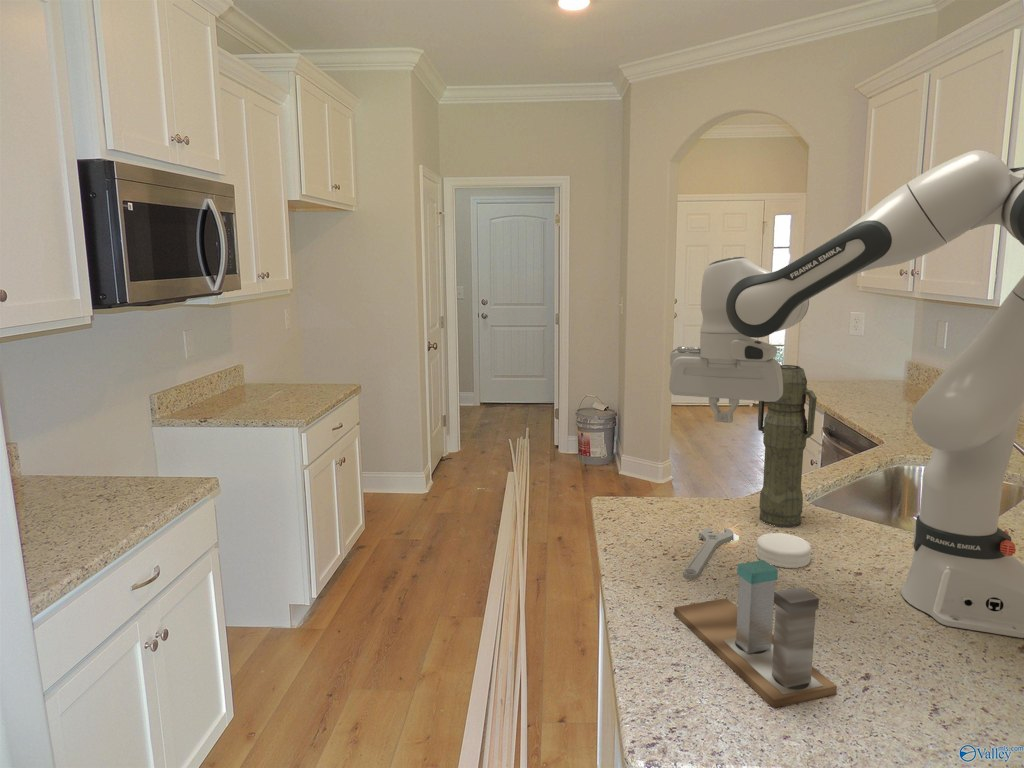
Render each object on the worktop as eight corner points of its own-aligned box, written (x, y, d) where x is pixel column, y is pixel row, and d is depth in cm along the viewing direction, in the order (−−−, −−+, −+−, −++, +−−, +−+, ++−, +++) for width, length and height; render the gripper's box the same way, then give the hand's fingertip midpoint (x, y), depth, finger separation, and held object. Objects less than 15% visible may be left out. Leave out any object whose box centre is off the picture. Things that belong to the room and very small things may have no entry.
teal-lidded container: (733, 642, 105) (737, 563, 103) (759, 637, 106) (763, 559, 104) (747, 654, 102) (751, 573, 99) (773, 649, 103) (778, 569, 101)
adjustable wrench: (695, 583, 128) (695, 574, 128) (662, 575, 132) (662, 566, 131) (736, 537, 148) (736, 529, 148) (706, 531, 152) (707, 523, 152)
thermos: (803, 532, 150) (814, 371, 143) (747, 521, 156) (755, 367, 150) (812, 519, 157) (822, 365, 151) (758, 509, 163) (766, 362, 157)
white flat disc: (800, 574, 131) (801, 556, 130) (748, 560, 137) (749, 543, 136) (817, 556, 138) (818, 540, 137) (766, 544, 144) (767, 528, 144)
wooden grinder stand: (674, 613, 116) (676, 535, 114) (726, 604, 119) (729, 528, 117) (773, 708, 92) (779, 611, 89) (836, 693, 95) (843, 599, 92)
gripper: (664, 347, 130) (663, 420, 132) (779, 351, 120) (776, 430, 122) (675, 344, 136) (675, 414, 138) (786, 347, 125) (783, 423, 127)
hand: (723, 421), depth 130 cm, fingers closed
